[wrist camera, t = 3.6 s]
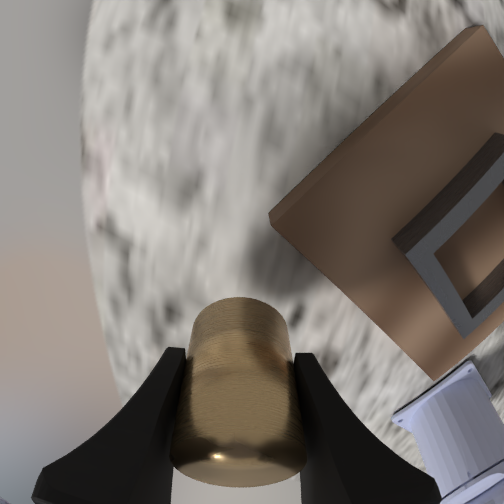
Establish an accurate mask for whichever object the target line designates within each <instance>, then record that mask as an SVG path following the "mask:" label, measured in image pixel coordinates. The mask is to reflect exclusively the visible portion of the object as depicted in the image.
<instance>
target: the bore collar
mask: <svg viewBox="0 0 504 504" xmlns="http://www.w3.org/2000/svg"><path fill="white" fill-rule="evenodd" d="M501 182H502V184H503V186H504V134H500V133H496V132H495V133H494V134H493V135H492V136H491V137H490V138H489V140H488V141H487V142H486V143H485V144H484V145H483V146H482V147H481V149H480V150H479V151H478V152H477V153H476V154H475V155H474V156H473V157H472V158H471V160H470V161H469V162H468V163H467V164H466V165H465V166H464V167H463V168H462V169H461V170H460V171H459V172H458V173H457V175H456V176H455V177H454V178H453V179H452V180H451V181H450V182H449V183H448V184H447V185H446V186H445V187H444V188H443V189H442V190H441V191H440V192H439V193H438V194H437V195H436V196H435V197H434V198H433V199H432V200H431V201H430V202H429V203H428V204H427V205H426V206H425V207H424V208H423V209H422V210H421V211H420V212H419V213H418V214H417V215H416V216H415V217H414V218H413V219H412V220H411V221H410V222H409V223H407V224H406V225H405V226H404V227H403V228H402V229H401V230H400V231H399V232H398V233H397V234H396V235H395V236H394V237H393V238H391V240H392V242H393V243H394V244H395V245H396V247H397V248H398V249H399V250H400V252H401V253H402V254H403V256H404V257H405V258H406V259H407V261H408V262H409V263H410V265H411V266H412V267H413V269H414V270H415V271H416V273H417V274H418V275H419V277H420V278H421V280H422V281H423V282H424V284H425V285H426V286H427V288H428V289H429V291H430V292H431V293H432V295H433V296H434V298H435V299H436V301H437V302H438V303H439V305H440V306H441V308H442V309H443V311H444V312H445V314H446V315H447V317H448V318H449V320H450V321H451V323H452V324H453V326H454V327H455V328H456V330H457V331H458V332H459V334H460V335H461V336H462V338H463V339H465V338H466V337H467V336H468V335H469V334H471V333H472V332H473V331H474V330H475V329H476V328H477V327H478V326H479V325H480V324H481V323H482V322H484V321H485V320H486V319H487V318H488V317H489V316H490V315H491V314H492V313H493V312H494V311H495V310H496V309H497V308H498V307H499V306H500V305H501V304H502V303H503V302H504V259H503V260H502V261H501V262H500V263H499V264H498V265H497V266H496V267H495V268H494V269H493V270H492V271H491V273H490V274H489V275H488V276H487V277H486V278H485V279H484V280H483V281H482V282H481V283H480V284H479V285H478V286H477V287H476V288H475V289H474V290H473V291H472V292H471V293H470V294H468V295H467V296H466V297H465V298H464V299H463V300H461V298H460V296H459V294H458V293H457V291H456V289H455V288H454V286H453V284H452V283H451V281H450V279H449V278H448V276H447V274H446V273H445V271H444V270H443V268H442V266H441V265H440V263H439V262H438V260H437V259H436V257H435V256H434V254H433V253H434V252H436V251H437V250H438V249H439V248H440V247H441V246H442V245H443V244H444V243H445V242H446V241H447V240H448V239H449V238H450V237H451V236H452V235H453V234H454V233H455V232H456V231H457V230H458V229H459V228H460V227H461V226H462V225H463V224H464V223H465V222H466V221H467V219H468V218H469V217H470V216H471V215H472V214H473V213H474V212H475V211H476V210H477V209H478V208H479V207H480V206H481V204H482V203H483V202H484V201H485V200H486V199H487V198H488V197H489V196H490V194H491V193H492V192H493V191H494V190H495V189H496V188H497V186H498V185H499V184H500V183H501Z"/></svg>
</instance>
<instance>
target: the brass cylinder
mask: <svg viewBox="0 0 504 504" xmlns="http://www.w3.org/2000/svg"><path fill="white" fill-rule="evenodd" d="M169 459H170V462H171V463H172V465H173V466H174V467H175V468H176V469H177V470H179V471H180V472H181V473H183V474H184V475H186V476H188V477H190V478H192V479H195V480H198V481H201V482H204V483H208V484H213V485H218V486H226V487H257V486H264V485H269V484H273V483H277V482H280V481H283V480H286V479H288V478H290V477H292V476H294V475H296V474H297V473H299V472H300V471H301V470H302V469H303V468H304V467H305V465H306V463H307V452H306V445H305V438H304V431H303V424H302V417H301V411H300V404H299V398H298V391H297V385H296V378H295V372H294V366H293V360H292V353H291V347H290V341H289V335H288V329H287V325H286V322H285V320H284V319H283V317H282V316H281V314H280V313H279V312H278V311H277V310H276V309H275V308H273V307H272V306H270V305H268V304H266V303H264V302H262V301H259V300H256V299H252V298H245V297H234V298H227V299H223V300H219V301H217V302H214V303H212V304H211V305H209V306H207V307H206V308H205V309H203V310H202V311H201V312H200V314H199V315H198V316H197V318H196V320H195V322H194V325H193V329H192V334H191V339H190V344H189V348H188V353H187V359H186V364H185V369H184V374H183V379H182V384H181V390H180V395H179V401H178V406H177V412H176V417H175V423H174V429H173V435H172V441H171V447H170V453H169Z"/></svg>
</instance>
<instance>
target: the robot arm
mask: <svg viewBox="0 0 504 504" xmlns="http://www.w3.org/2000/svg"><path fill="white" fill-rule="evenodd" d="M185 364H186V355H185V348H175V347H168V348H167V349H166V350H165V352H164V353H163V355H162V357H161V358H160V360H159V361H158V363H157V364H156V366H155V367H154V369H153V370H152V372H151V373H150V375H149V376H148V377H147V379H146V380H145V381H144V383H143V384H142V385H141V387H140V388H139V389H138V390H137V392H136V393H135V394H134V395H133V396H132V398H131V399H130V400H129V401H128V402H127V404H126V405H125V406H124V407H123V408H122V409H121V410H120V411H119V412H118V413H117V414H116V415H115V416H114V417H113V418H112V419H111V420H110V421H109V422H108V423H107V424H106V425H105V426H104V427H103V428H101V429H100V430H99V431H98V432H97V433H96V434H94V435H93V436H92V437H91V438H89V439H88V440H87V441H85V442H84V443H83V444H81V445H80V446H79V447H77V448H76V449H74V450H73V451H71V452H70V453H68V454H67V455H65V456H63V457H62V458H60V459H58V460H56V461H55V462H53V463H51V464H49V465H47V466H46V467H44V468H43V469H42V472H41V473H40V475H39V477H38V479H37V482H36V485H35V488H34V491H33V494H32V497H31V498H32V500H33V502H34V503H35V504H171V490H172V477H173V467H174V466H173V465H172V463H171V462H170V459H169V453H170V447H171V441H172V435H173V429H174V423H175V417H176V412H177V406H178V401H179V395H180V390H181V384H182V379H183V374H184V369H185ZM293 366H294V372H295V378H296V385H297V391H298V398H299V404H300V411H301V417H302V424H303V431H304V438H305V445H306V452H307V463H306V465H305V467H304V468H303V469H302V470H301V471H300V481H301V500H302V504H504V424H503V422H502V420H501V418H500V417H499V415H498V413H497V411H496V410H495V408H494V406H493V404H492V403H491V401H490V398H491V396H492V394H491V393H490V391H489V389H488V387H487V386H486V384H485V382H484V380H483V379H482V377H481V375H480V374H479V372H478V370H477V369H476V367H475V365H474V364H473V362H472V361H467V362H465V363H464V364H463V365H462V366H461V367H459V368H458V369H457V370H456V371H454V372H453V373H452V374H451V375H449V376H448V377H447V378H446V379H444V380H443V381H442V382H440V383H439V384H438V385H436V386H435V387H434V388H432V389H431V390H430V391H428V392H427V393H425V394H424V395H423V396H421V397H420V398H418V399H417V400H415V401H414V402H412V403H411V404H410V405H408V406H407V407H405V408H404V409H402V410H400V411H399V412H397V413H396V414H394V415H393V416H392V417H391V419H392V422H393V423H395V424H397V425H399V426H400V427H402V428H404V429H406V430H408V431H409V432H411V433H413V435H414V438H415V440H416V443H417V445H418V448H419V451H420V454H421V456H422V459H423V462H424V465H425V467H426V470H427V473H428V474H426V473H424V472H423V471H421V470H419V469H417V468H416V467H414V466H412V465H411V464H409V463H408V462H407V461H405V460H404V459H402V458H401V457H399V456H398V455H397V454H396V453H395V452H393V451H392V450H391V449H390V448H388V447H387V446H386V445H385V444H383V443H382V442H381V441H380V440H379V439H378V438H377V437H376V436H375V435H374V434H373V433H372V432H371V431H370V430H369V429H368V428H367V427H366V426H365V425H364V424H363V423H362V422H361V421H360V420H359V419H358V418H357V416H356V415H355V414H354V413H353V412H352V410H351V409H350V408H349V407H348V406H347V404H346V403H345V402H344V400H343V399H342V398H341V396H340V395H339V393H338V392H337V391H336V389H335V388H334V386H333V385H332V383H331V382H330V380H329V379H328V377H327V376H326V374H325V373H324V371H323V369H322V368H321V366H320V364H319V363H318V361H317V359H316V358H315V356H314V354H313V353H296V354H295V359H294V364H293ZM0 504H10V503H9V502H7V501H6V500H4V499H3V498H1V497H0Z"/></svg>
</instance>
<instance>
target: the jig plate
mask: <svg viewBox="0 0 504 504" xmlns="http://www.w3.org/2000/svg"><path fill="white" fill-rule="evenodd" d="M495 132H496V133H500V134H504V58H503V57H502V55H501V53H500V51H499V50H498V48H497V46H496V45H495V43H494V42H493V40H492V38H491V37H490V35H489V34H488V32H487V31H486V29H485V28H484V26H483V25H481V26H476V27H471V28H465V29H464V30H463V31H462V32H461V33H460V34H458V35H457V36H456V37H455V38H454V39H453V40H452V41H451V42H450V43H449V44H447V45H446V46H445V47H444V48H443V49H442V50H441V51H440V52H439V53H438V54H436V55H435V56H434V57H433V58H432V59H431V60H430V61H429V62H428V63H427V64H425V65H424V66H423V67H422V68H421V69H420V70H419V71H418V72H417V73H416V74H415V75H414V76H412V77H411V78H410V79H409V80H408V81H407V82H406V83H405V84H404V85H403V86H402V87H401V88H399V89H398V90H397V91H396V92H395V93H394V94H393V95H392V96H391V97H390V98H389V99H388V100H387V101H385V102H384V103H383V104H382V105H381V106H380V107H379V108H378V109H377V110H376V111H375V112H374V113H373V114H372V115H371V116H369V117H368V118H367V119H366V120H365V121H364V122H363V123H362V124H361V125H360V126H359V127H358V128H357V129H356V130H355V131H354V132H353V133H351V134H350V135H349V136H348V137H347V138H346V139H345V140H344V141H343V142H342V143H341V144H340V145H339V146H338V147H337V148H336V149H335V150H334V151H332V152H331V153H330V154H329V155H328V156H327V157H326V158H325V159H324V160H323V161H322V162H321V163H320V164H319V165H318V166H317V167H316V168H315V169H314V170H313V171H312V172H311V173H309V174H308V175H307V176H306V177H305V178H304V179H303V180H302V181H301V182H300V183H299V184H298V185H297V186H296V187H295V188H294V189H293V190H292V191H291V192H290V193H289V194H288V195H287V196H286V197H285V198H284V199H283V200H282V201H280V202H279V203H278V204H277V205H276V206H275V207H274V208H273V209H272V210H271V211H270V212H269V218H270V223H271V226H272V227H273V228H274V229H275V230H276V231H277V232H278V233H279V234H281V235H282V236H283V237H284V238H285V239H286V240H287V241H288V242H289V243H290V244H292V245H293V246H294V247H295V248H296V249H297V250H298V251H299V252H300V253H301V254H302V255H304V256H305V257H306V258H307V259H308V260H309V261H310V262H311V263H312V264H313V265H314V266H315V267H316V268H318V269H319V270H320V271H321V272H322V273H323V274H324V275H325V276H326V277H327V278H328V279H329V280H330V281H331V282H332V283H334V284H335V285H336V286H337V287H338V288H339V289H340V290H341V291H342V292H343V293H344V294H345V295H346V296H347V297H348V298H349V299H350V300H352V301H353V302H354V303H355V304H356V305H357V306H358V307H359V308H360V309H361V310H362V311H363V312H364V313H365V314H366V315H367V316H368V317H369V318H370V319H371V320H372V321H373V322H374V323H375V324H376V325H378V326H379V327H380V328H381V329H382V330H383V331H384V332H385V333H386V334H387V335H388V336H389V337H390V338H391V339H392V340H393V341H394V342H395V343H396V344H397V345H398V346H399V347H400V348H401V349H402V350H403V351H404V352H405V353H406V354H407V355H408V356H409V357H410V358H411V359H412V360H413V361H414V362H415V363H416V364H417V365H418V366H419V367H420V368H421V369H422V370H423V371H424V372H425V373H426V374H427V375H428V376H429V377H430V378H431V379H432V380H433V381H435V380H436V379H438V378H439V377H440V376H441V375H443V374H444V373H445V372H447V371H448V370H449V369H450V368H452V367H453V366H454V365H455V364H457V363H458V362H459V361H460V360H461V359H463V358H464V357H465V356H466V355H467V354H468V353H470V352H471V351H472V350H473V349H474V348H475V347H476V346H478V345H479V344H480V343H481V342H482V341H483V340H484V339H485V338H486V337H487V336H489V335H490V334H491V333H492V332H493V331H494V330H495V329H496V328H497V327H498V326H499V325H500V324H501V323H502V322H503V321H504V302H503V303H502V304H501V305H500V306H499V307H498V308H497V309H496V310H495V311H494V312H493V313H492V314H491V315H490V316H489V317H488V318H487V319H486V320H485V321H484V322H482V323H481V324H480V325H479V326H478V327H477V328H476V329H475V330H474V331H473V332H472V333H471V334H469V335H468V336H467V337H466V338H465V339H463V338H462V336H461V335H460V334H459V332H458V331H457V330H456V328H455V327H454V326H453V324H452V323H451V321H450V320H449V318H448V317H447V315H446V314H445V312H444V311H443V309H442V308H441V306H440V305H439V303H438V302H437V301H436V299H435V298H434V296H433V295H432V293H431V292H430V291H429V289H428V288H427V286H426V285H425V284H424V282H423V281H422V280H421V278H420V277H419V275H418V274H417V273H416V271H415V270H414V269H413V267H412V266H411V265H410V263H409V262H408V261H407V259H406V258H405V257H404V256H403V254H402V253H401V252H400V250H399V249H398V248H397V247H396V245H395V244H394V243H393V242H392V240H391V238H393V237H394V236H395V235H396V234H397V233H398V232H399V231H400V230H401V229H402V228H403V227H404V226H405V225H406V224H407V223H409V222H410V221H411V220H412V219H413V218H414V217H415V216H416V215H417V214H418V213H419V212H420V211H421V210H422V209H423V208H424V207H425V206H426V205H427V204H428V203H429V202H430V201H431V200H432V199H433V198H434V197H435V196H436V195H437V194H438V193H439V192H440V191H441V190H442V189H443V188H444V187H445V186H446V185H447V184H448V183H449V182H450V181H451V180H452V179H453V178H454V177H455V176H456V175H457V173H458V172H459V171H460V170H461V169H462V168H463V167H464V166H465V165H466V164H467V163H468V162H469V161H470V160H471V158H472V157H473V156H474V155H475V154H476V153H477V152H478V151H479V150H480V149H481V147H482V146H483V145H484V144H485V143H486V142H487V141H488V140H489V138H490V137H491V136H492V135H493V134H494V133H495ZM433 254H434V256H435V257H436V259H437V260H438V262H439V263H440V265H441V266H442V268H443V270H444V271H445V273H446V274H447V276H448V278H449V279H450V281H451V283H452V284H453V286H454V288H455V289H456V291H457V293H458V294H459V296H460V298H461V300H463V299H464V298H465V297H466V296H467V295H468V294H470V293H471V292H472V291H473V290H474V289H475V288H476V287H477V286H478V285H479V284H480V283H481V282H482V281H483V280H484V279H485V278H486V277H487V276H488V275H489V274H490V273H491V271H492V270H493V269H494V268H495V267H496V266H497V265H498V264H499V263H500V262H501V261H502V260H503V259H504V186H503V184H502V182H501V183H500V184H499V185H498V186H497V188H496V189H495V190H494V191H493V192H492V193H491V194H490V196H489V197H488V198H487V199H486V200H485V201H484V202H483V203H482V204H481V206H480V207H479V208H478V209H477V210H476V211H475V212H474V213H473V214H472V215H471V216H470V217H469V218H468V219H467V221H466V222H465V223H464V224H463V225H462V226H461V227H460V228H459V229H458V230H457V231H456V232H455V233H454V234H453V235H452V236H451V237H450V238H449V239H448V240H447V241H446V242H445V243H444V244H443V245H442V246H441V247H440V248H439V249H438V250H437V251H436V252H434V253H433Z"/></svg>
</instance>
